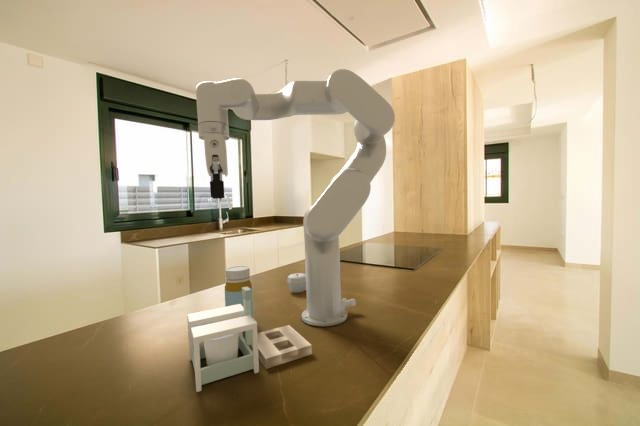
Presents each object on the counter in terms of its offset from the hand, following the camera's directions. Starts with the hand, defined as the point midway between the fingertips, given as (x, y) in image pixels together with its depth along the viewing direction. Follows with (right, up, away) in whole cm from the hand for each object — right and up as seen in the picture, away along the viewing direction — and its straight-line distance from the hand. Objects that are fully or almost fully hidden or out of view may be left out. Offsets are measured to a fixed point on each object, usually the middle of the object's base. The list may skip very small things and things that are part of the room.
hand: (218, 197), depth 77 cm
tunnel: (+8, -34, -19) cm, 40 cm away
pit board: (+18, -34, -13) cm, 41 cm away
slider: (+8, -34, -19) cm, 40 cm away
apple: (+19, -33, +28) cm, 47 cm away
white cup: (+8, -35, -19) cm, 40 cm away
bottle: (+6, -34, +1) cm, 35 cm away
